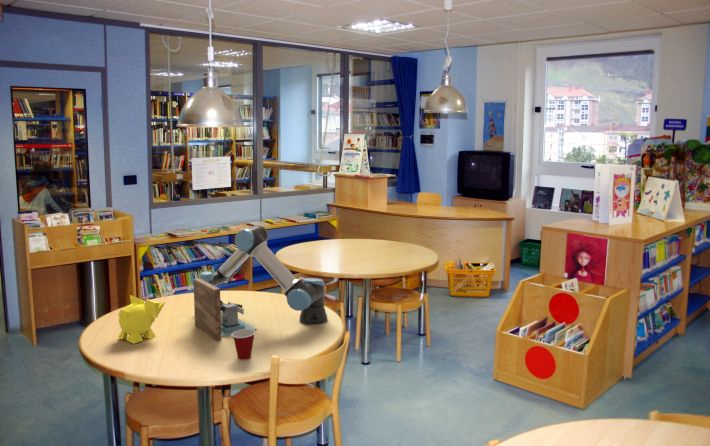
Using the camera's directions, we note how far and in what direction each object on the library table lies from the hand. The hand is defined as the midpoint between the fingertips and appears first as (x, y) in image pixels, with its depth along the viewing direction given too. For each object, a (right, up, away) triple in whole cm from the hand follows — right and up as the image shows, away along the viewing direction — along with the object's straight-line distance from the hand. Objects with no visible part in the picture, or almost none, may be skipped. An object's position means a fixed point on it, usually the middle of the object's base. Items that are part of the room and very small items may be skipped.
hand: (231, 314), depth 318 cm
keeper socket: (-1, -8, +3) cm, 8 cm away
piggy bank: (-44, -10, -11) cm, 47 cm away
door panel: (-11, -9, -5) cm, 15 cm away
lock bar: (-1, -7, +3) cm, 8 cm away
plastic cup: (+13, -15, -36) cm, 41 cm away
